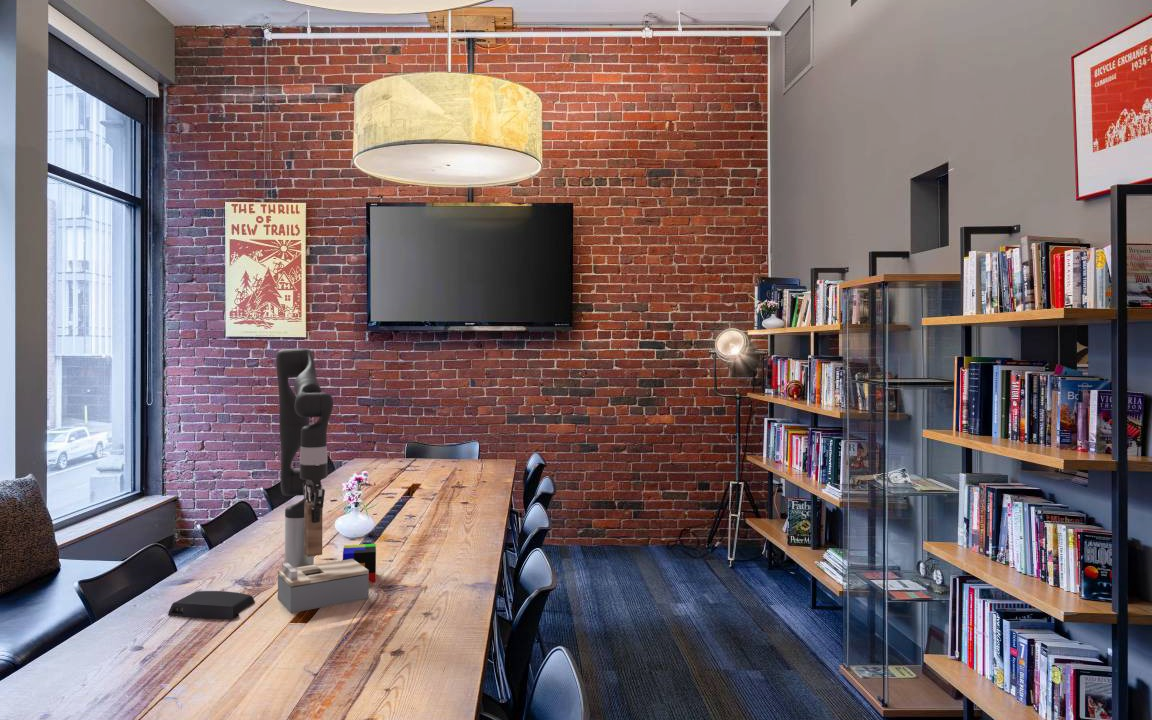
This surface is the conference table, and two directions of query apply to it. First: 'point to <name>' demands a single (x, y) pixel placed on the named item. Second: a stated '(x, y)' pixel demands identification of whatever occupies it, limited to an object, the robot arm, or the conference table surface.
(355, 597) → the toolbox
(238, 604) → the external hard drive
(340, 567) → the lid
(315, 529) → the brown block
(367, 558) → the puzzle toy
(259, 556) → the conference table surface
